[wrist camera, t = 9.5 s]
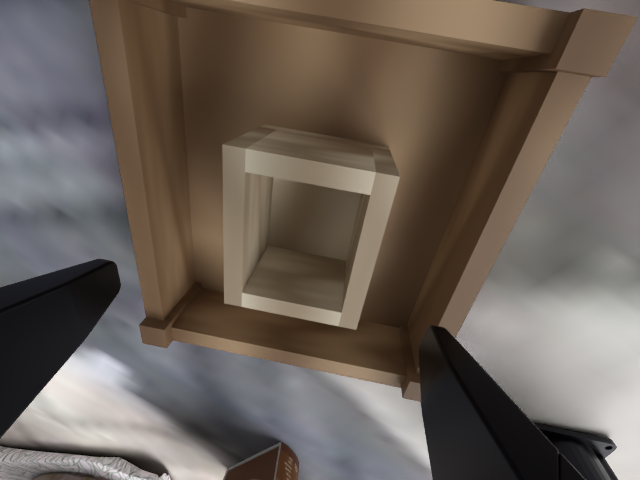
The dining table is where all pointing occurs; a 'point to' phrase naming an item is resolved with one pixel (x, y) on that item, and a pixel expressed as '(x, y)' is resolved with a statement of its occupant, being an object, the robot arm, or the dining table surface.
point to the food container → (267, 465)
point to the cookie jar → (67, 467)
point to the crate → (344, 122)
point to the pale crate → (304, 222)
